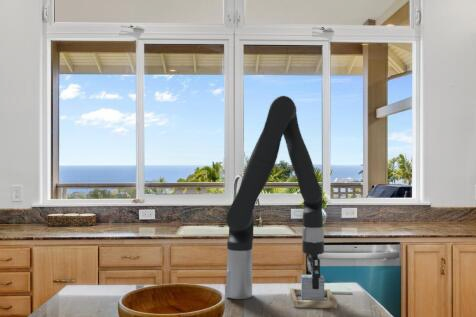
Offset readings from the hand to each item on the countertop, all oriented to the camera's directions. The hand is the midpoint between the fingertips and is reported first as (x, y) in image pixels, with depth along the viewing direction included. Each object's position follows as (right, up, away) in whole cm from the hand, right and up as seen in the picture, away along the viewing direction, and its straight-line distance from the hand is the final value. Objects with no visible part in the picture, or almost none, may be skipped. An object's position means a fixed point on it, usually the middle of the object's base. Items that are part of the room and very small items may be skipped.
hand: (313, 285), depth 147 cm
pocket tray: (-1, -5, 0) cm, 5 cm away
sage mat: (+10, -6, +13) cm, 18 cm away
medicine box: (-1, -6, 0) cm, 6 cm away
